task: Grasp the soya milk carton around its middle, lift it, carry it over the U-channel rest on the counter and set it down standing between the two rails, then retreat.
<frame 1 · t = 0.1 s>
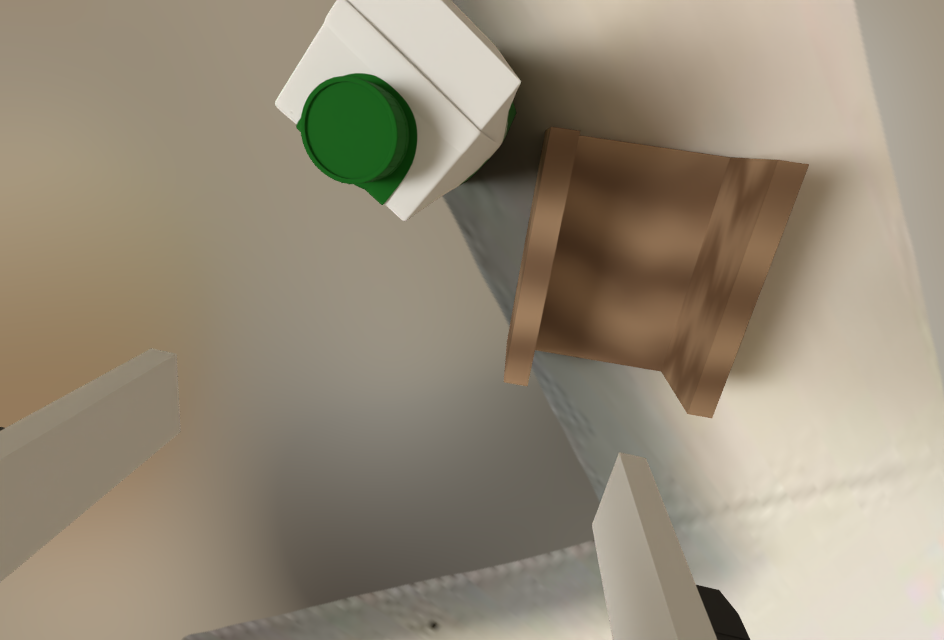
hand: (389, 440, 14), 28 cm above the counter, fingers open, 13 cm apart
u rest: (617, 259, 39), on the counter
soya milk: (454, 117, 36), on the counter
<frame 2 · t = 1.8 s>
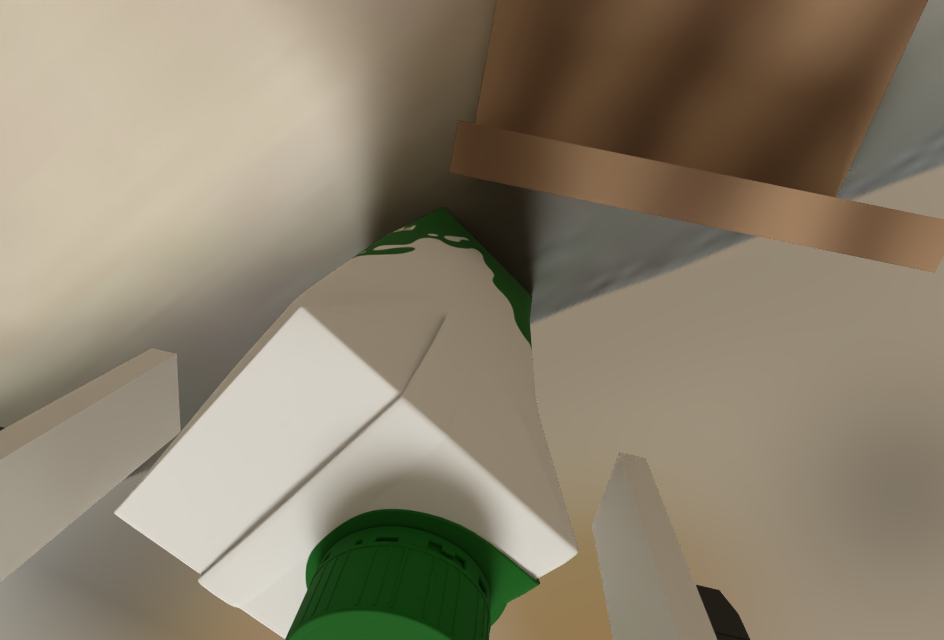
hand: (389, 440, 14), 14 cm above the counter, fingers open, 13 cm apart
u rest: (691, 28, 21), on the counter
soya milk: (446, 291, 27), on the counter
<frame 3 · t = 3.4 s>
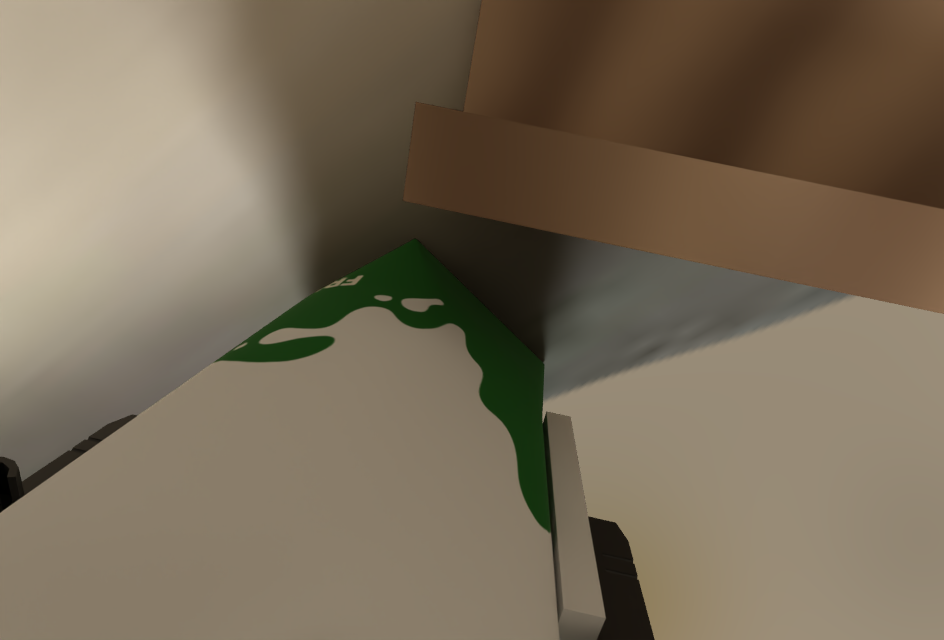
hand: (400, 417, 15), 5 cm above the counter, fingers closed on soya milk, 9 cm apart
soya milk: (423, 354, 19), on the counter, touching gripper
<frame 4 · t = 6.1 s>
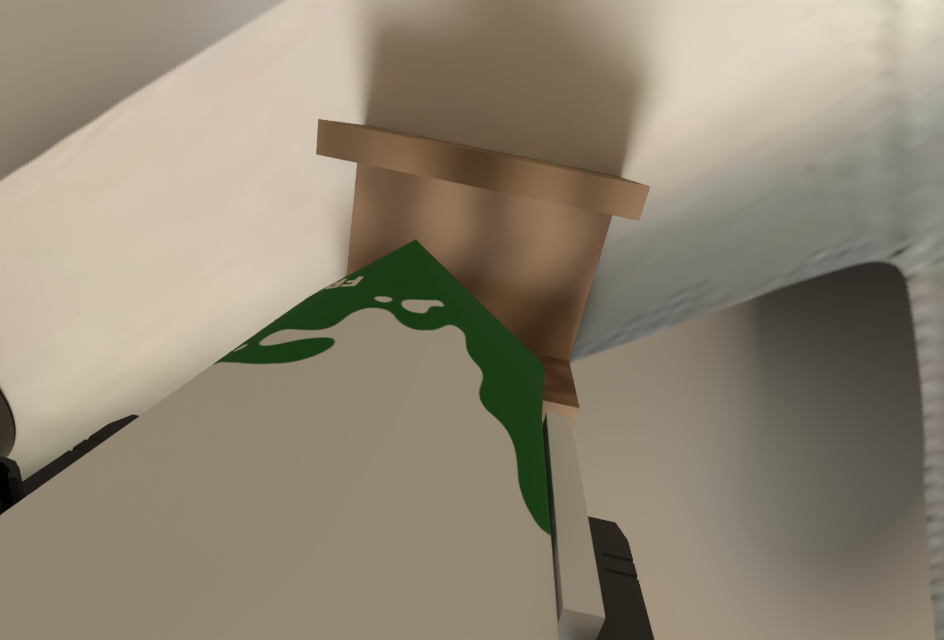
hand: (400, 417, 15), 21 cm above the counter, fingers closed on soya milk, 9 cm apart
u rest: (470, 260, 35), on the counter
soya milk: (423, 355, 19), point 17 cm above the counter, touching gripper
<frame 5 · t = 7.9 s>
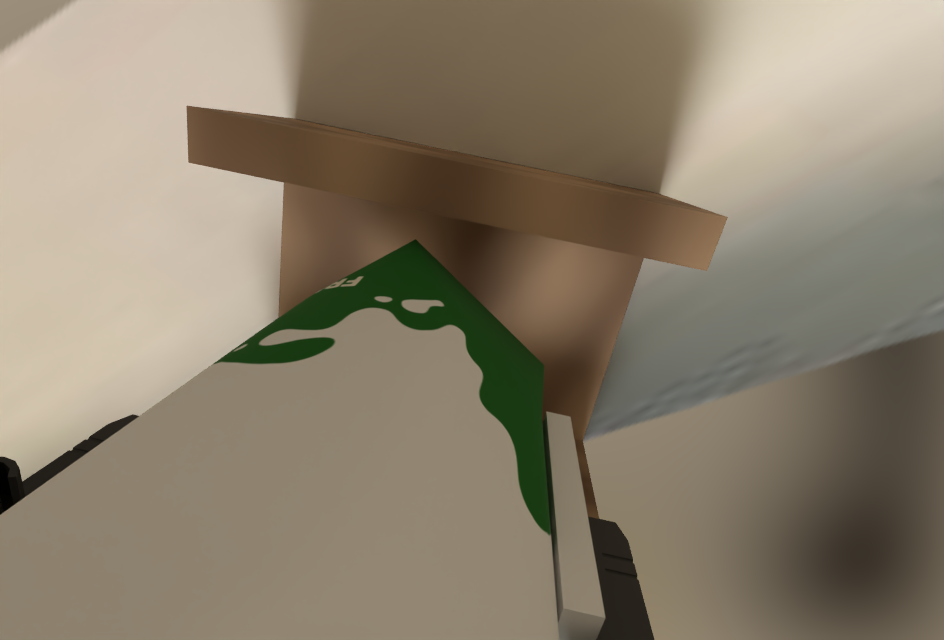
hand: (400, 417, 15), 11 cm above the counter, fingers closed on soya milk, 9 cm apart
u rest: (447, 305, 25), on the counter
soya milk: (423, 354, 19), point 6 cm above the counter, touching gripper
when the fingers open (7 cm above the counter, at t = 9.3 s): soya milk drops 1 cm, resting on u rest.
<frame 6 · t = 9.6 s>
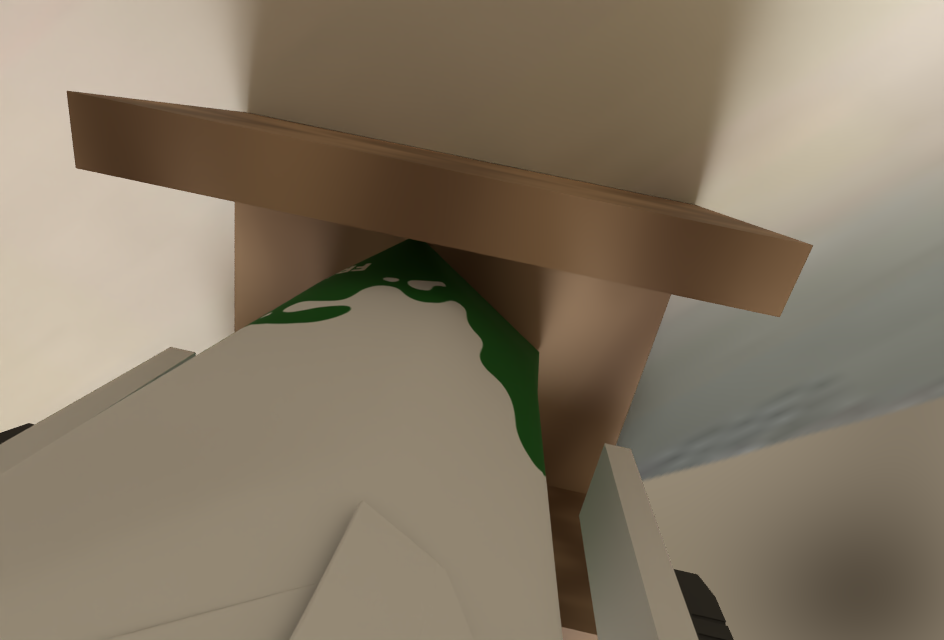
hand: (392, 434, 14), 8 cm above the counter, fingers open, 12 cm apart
u rest: (436, 337, 21), on the counter
soya milk: (424, 345, 20), point 1 cm above the counter, touching u rest
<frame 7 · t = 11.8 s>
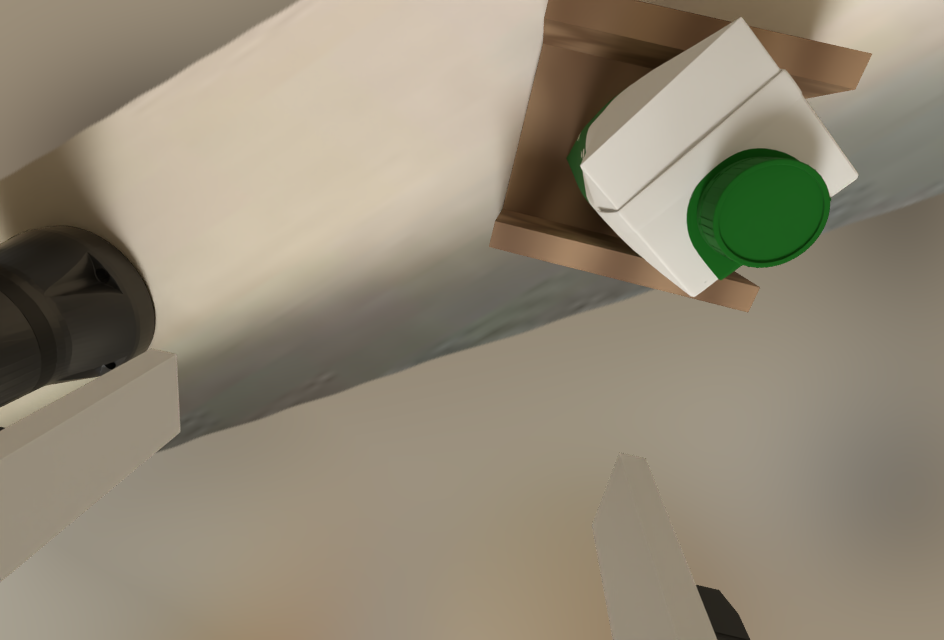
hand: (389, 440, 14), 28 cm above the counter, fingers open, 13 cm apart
u rest: (634, 158, 36), on the counter
soya milk: (631, 159, 35), point 1 cm above the counter, touching u rest
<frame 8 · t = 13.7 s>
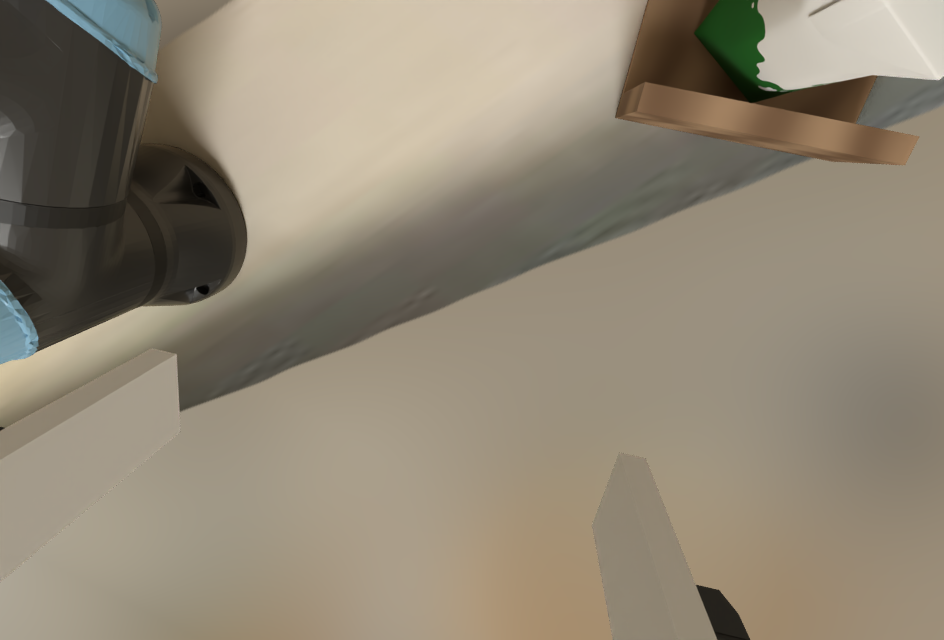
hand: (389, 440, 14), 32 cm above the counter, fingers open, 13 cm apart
u rest: (761, 31, 35), on the counter
soya milk: (760, 31, 35), point 1 cm above the counter, touching u rest
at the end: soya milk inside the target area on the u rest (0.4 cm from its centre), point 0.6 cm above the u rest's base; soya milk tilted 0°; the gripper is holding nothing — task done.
